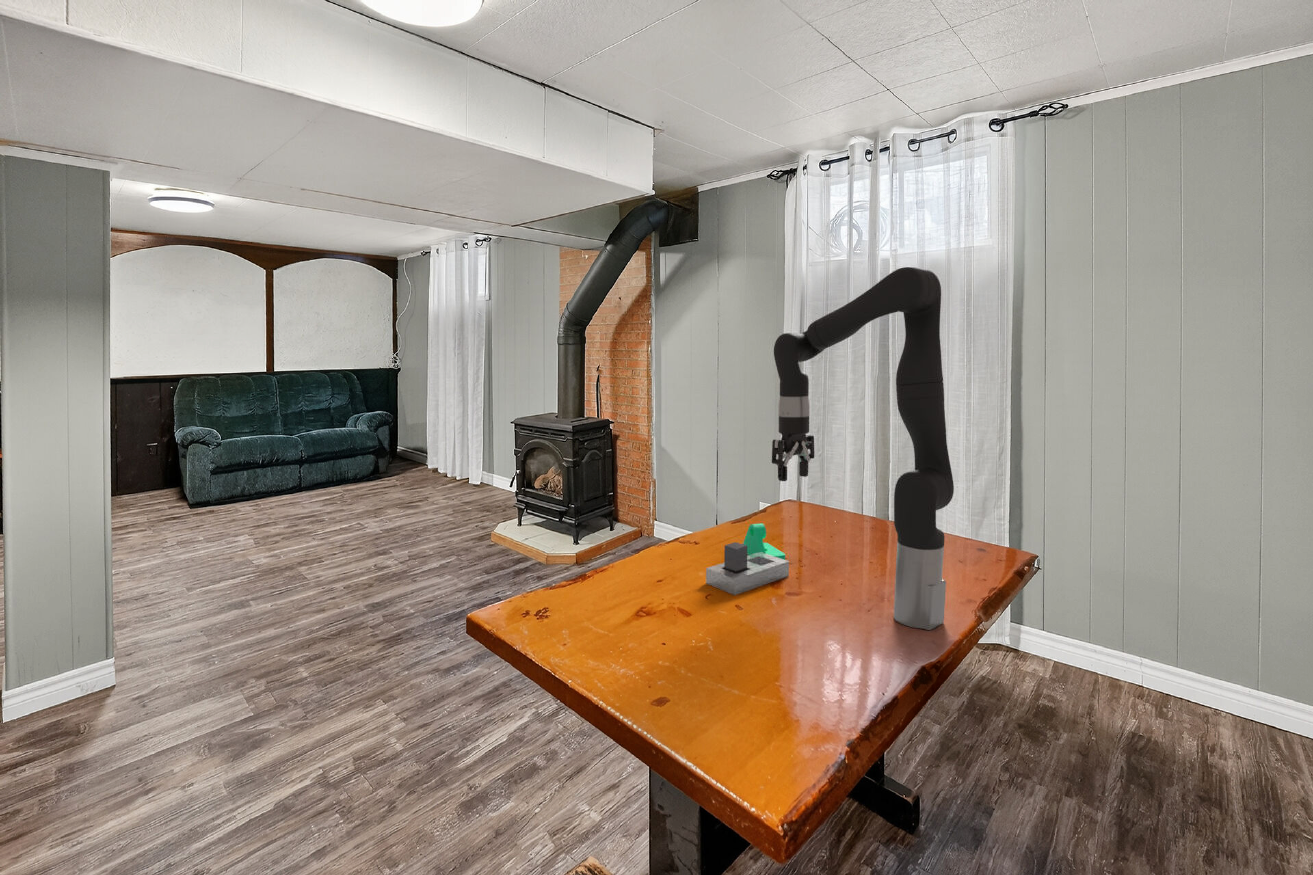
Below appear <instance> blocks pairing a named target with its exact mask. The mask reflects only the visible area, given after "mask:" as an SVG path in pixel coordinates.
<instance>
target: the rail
mask: <svg viewBox="0 0 1313 875" xmlns="http://www.w3.org/2000/svg"><path fill="white" fill-rule="evenodd" d="M789 565H790V561H789V560H786V559H785V560H784V559H780V558H777V557H774V556H771V555H768V554H765V553H762V552H758V553H754V554H751V555H748V554H747V571H744V572H741V573H738V574H735V573H732V572H730V571H727V570H724V562H722V563H719V564H715V565H712V566H708V567H706V568H705V569H706V570H705V584H706V583H707V584H706V585H709V586H711V585H712V587H714V588H716V587H717V588H716V589H719V590H721V591H724V592H726V593H728V594H731V595H733V596H737V595H739V594H742V593H745V592H748V591H751V590H753V589H756V588H759V587H762V586H764V585H767V584H771V583H772V582H776V581H778V580H781V579H785V578H787V577H789V574H790V571H789V570H790V569H789V568H790V566H789Z"/></svg>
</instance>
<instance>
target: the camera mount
mask: <svg viewBox="0 0 1313 875" xmlns="http://www.w3.org/2000/svg"><path fill="white" fill-rule="evenodd" d="M766 537H767V528H766V526H765V524H764V523H753V524H749V526H748V529H747V531H746V534H745V537H744V540H743V543H742V544H743V545H746V546H747V556H748V555H751V554H754V553H758V552H762V553H765V554H768V555H771V556H774V557H777V558H780V559H784V560H786V554H785V552H783V551H781V550H779V549H777V547H775V546H773V545H771V544H770V543H768V542H764V541H763V540H765V539H766Z"/></svg>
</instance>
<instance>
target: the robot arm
mask: <svg viewBox="0 0 1313 875" xmlns="http://www.w3.org/2000/svg"><path fill="white" fill-rule="evenodd" d="M941 306H942V286H941V282H940V279H939V277H938V276H937V275H936V274H935V273H934V272H933V271H932V270H929V269H927V268H923V267H922V268H921V267H915V266H903V267H898V268H896V269H895V270H894V271H892V272H890V273H888V275H886V276H884V277H883V278H882V279H880V280H879V281H878V282H877V283H876V284H874V285H873V286H872V287H870V288H869V289H867V290H866V291H865V292H863V293H861V294H860V295H859V296H858V297H856V298H854V299H852V300H851V301H849V302H848V303H846V304H845V305H843V306H841V307H839V308H838V309H836V310H833V311H831V312H829V313H827V314H825V315H824V316H822V317H820V318H818V319H815V321H813V322H811V323H810V324H809V325H808V327H807V330H806V331H804V332H800V333H799V332H797V333H795V332H786V333H782V334H780V335H778V337H777V338H776V340H775V342H774V345H773V358H774V362H775V367H776V371H777V374H778V378H779V401H778V433H779V434H780V435H781V439H772V443H771V444H772V445H771V446H772V447H771V448H772V449H771V463H772V464H773V465H774V464H775V465H776V466H777V479H778V481H779V482H787V481H788V466H787V465H788V464H789V462H790V460H791V459H792V458H793V456H797V458H798V459H799V464H798V466H799V467H798V468H799V469H798V470H799V472H798V473H799V474H798V475H799V476H800V477H803V478H806V477H808V476H809V462H810V461H811V460H812V459H815V437H814V435H811V434H809V433H810V409H811V408H810V399H809V391H810V390H809V386H810V384H809V383H810V382H809V381H810V379H809V375H808V374H807V373H805V372H803V371H802V370H801V367H800V364H799V363H803V362H806V361H809V360H812V359H813V358H815V357H816V356H818V355H820V354H821V353H822V352H824V350H825V349H827V348H830V347H833V346H834V345H837V344H838V343H840V342H841V343H842V341H845V340H847V339H849V338H850V337H852V336H853V335H855V334H856V333H857V332H858V331H859V330H860V329H862V328H863V327H864V326H865V325H867V324H868V323H870V322H872V321H874V320H876V319H879V318H881V317H884V316H887V315H891V314H894V313H899V312H900V313H903V319H904V327H905V328H904V329H905V332H904V333H905V338H904V345H903V349H902V352H901V355H900V358H899V362H898V364H897V369H896V376H895V389H896V393H895V394H896V403H897V404H896V405H897V409H898V413H899V416H900V418H901V420H902V422H903V424H904V426H905V428H906V430H907V433H908V434H909V436H910V439H911V442H912V446H913V453H914V456H913V457H914V470H910V471H907V472H905V473H903V474H901V475H900V476H899V478H897V481H896V483H895V487H894V495H893V524H894V525H893V526H894V529H895V531H896V535H897V539H896V540H897V541H896V559H895V560H896V561H895V578H894V579H895V584H894V600H893V602H894V604H893V619H894V620H895V621H896V622H897V623H900V624H901V625H904V626H907V627H909V628H915V629H922V630H923V629H924V630H928V631H931V630H933V629H935V628H937V627H939V626H940V625H942V624H944V622H945V621H944V620H945V606H946V603H945V602H946V592H947V591H946V589H947V581H946V580H945V579H943V571H944V570H943V567H944V550H945V534H944V532H943V531H942V530H941V529H939V528H938V527H937V511H939V510H941V509H944V508H945V507H947V506H949V504H950V502H952V499H953V497H954V492H955V487H954V486H955V484H954V477H953V472H952V467H951V462H950V461H951V460H950V456H949V448H948V442H947V439H948V438H947V425H946V423H947V422H946V413H945V412H946V410H945V389H944V388H945V387H944V386H945V385H944V374H943V364H942V362H943V361H942V347H941V336H940V334H941V332H940V329H941Z"/></svg>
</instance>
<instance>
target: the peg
mask: <svg viewBox="0 0 1313 875" xmlns="http://www.w3.org/2000/svg"><path fill="white" fill-rule="evenodd" d="M747 556H748V554H747V546H746V545H743V543H739V542H736V541H735V542H732V543H728V544H724V556H723V557H724V561H723V563H724V570H727V571H730V572H732V573H735V574H738V573H741V572H744V571H747Z"/></svg>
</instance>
